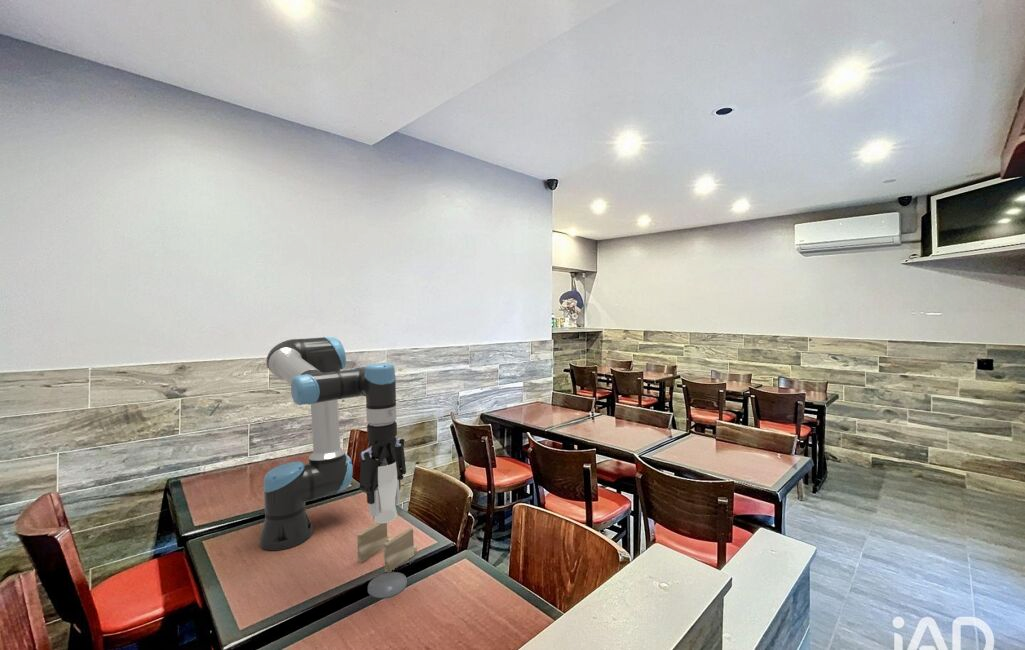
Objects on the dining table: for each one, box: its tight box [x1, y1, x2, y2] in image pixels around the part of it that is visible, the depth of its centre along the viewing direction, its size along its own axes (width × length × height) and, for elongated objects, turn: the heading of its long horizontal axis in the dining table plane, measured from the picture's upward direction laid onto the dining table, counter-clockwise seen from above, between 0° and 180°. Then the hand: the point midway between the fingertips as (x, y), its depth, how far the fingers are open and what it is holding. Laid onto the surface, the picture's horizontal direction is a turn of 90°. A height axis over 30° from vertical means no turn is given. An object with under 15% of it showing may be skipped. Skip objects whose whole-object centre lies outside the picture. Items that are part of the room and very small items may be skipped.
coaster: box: [367, 571, 408, 599], centre depth 113 cm, size 10×10×1 cm
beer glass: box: [372, 458, 398, 524], centre depth 112 cm, size 7×7×15 cm
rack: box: [356, 522, 418, 573], centre depth 126 cm, size 12×11×8 cm
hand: (384, 508), depth 112 cm, fingers closed on beer glass, 7 cm apart
